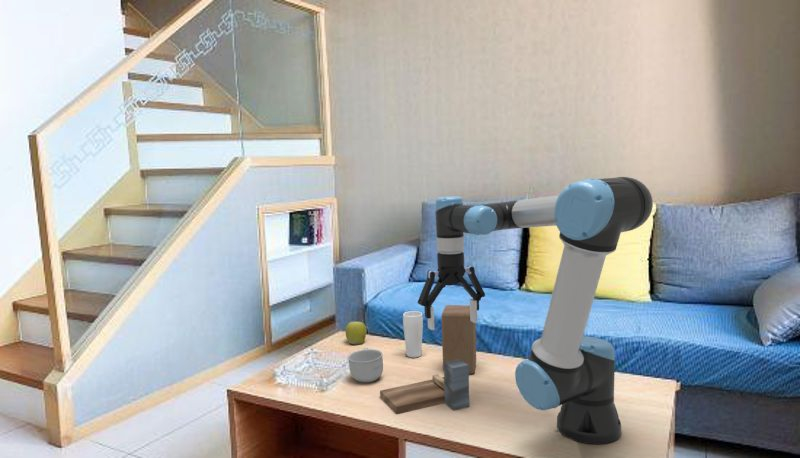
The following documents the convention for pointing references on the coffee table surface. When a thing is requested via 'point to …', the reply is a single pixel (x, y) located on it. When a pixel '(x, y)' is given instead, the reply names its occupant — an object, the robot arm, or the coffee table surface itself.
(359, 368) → the teacup
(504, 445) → the coffee table surface
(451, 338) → the wooden block
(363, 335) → the apple
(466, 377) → the grey block
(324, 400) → the coffee table surface
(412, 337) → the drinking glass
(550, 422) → the coffee table surface
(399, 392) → the board
